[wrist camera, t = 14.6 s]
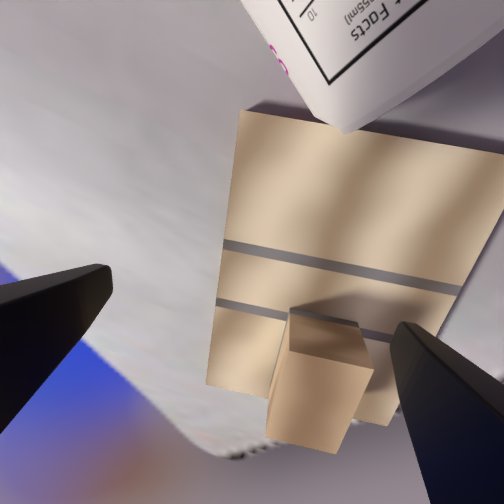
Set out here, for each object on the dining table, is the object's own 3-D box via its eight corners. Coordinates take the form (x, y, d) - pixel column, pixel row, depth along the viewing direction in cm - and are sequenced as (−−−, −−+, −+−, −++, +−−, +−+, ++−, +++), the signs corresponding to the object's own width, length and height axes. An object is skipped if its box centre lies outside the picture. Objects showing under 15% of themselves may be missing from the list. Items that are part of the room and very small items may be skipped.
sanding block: (357, 322, 20) (374, 369, 16) (328, 398, 23) (335, 454, 19) (289, 307, 21) (289, 350, 16) (269, 385, 24) (265, 437, 20)
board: (514, 157, 16) (530, 159, 15) (383, 413, 25) (387, 426, 24) (243, 111, 17) (240, 109, 16) (209, 373, 26) (205, 384, 25)
